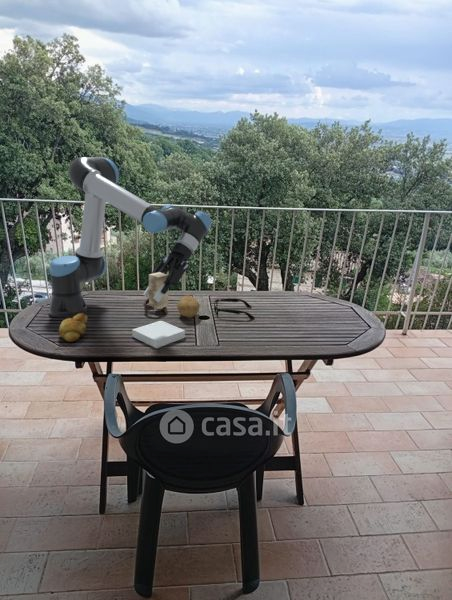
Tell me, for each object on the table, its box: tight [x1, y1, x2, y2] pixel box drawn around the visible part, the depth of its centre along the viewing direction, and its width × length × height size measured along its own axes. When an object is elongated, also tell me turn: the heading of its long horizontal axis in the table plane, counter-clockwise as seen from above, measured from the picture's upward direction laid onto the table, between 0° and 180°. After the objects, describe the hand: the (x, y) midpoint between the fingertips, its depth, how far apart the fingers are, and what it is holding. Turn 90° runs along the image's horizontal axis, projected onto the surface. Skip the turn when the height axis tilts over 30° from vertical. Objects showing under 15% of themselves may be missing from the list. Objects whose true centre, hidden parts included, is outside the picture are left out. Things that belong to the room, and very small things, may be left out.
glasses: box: [213, 298, 256, 320], centre depth 190 cm, size 16×18×5 cm
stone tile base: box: [131, 320, 186, 349], centre depth 161 cm, size 14×14×3 cm
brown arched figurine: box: [142, 298, 168, 314], centre depth 187 cm, size 12×10×8 cm
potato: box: [176, 295, 201, 319], centre depth 183 cm, size 10×14×8 cm
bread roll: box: [58, 313, 89, 343], centre depth 157 cm, size 13×10×8 cm
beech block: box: [148, 272, 169, 310], centre depth 155 cm, size 5×5×12 cm
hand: (150, 298), depth 153 cm, fingers closed on beech block, 5 cm apart
